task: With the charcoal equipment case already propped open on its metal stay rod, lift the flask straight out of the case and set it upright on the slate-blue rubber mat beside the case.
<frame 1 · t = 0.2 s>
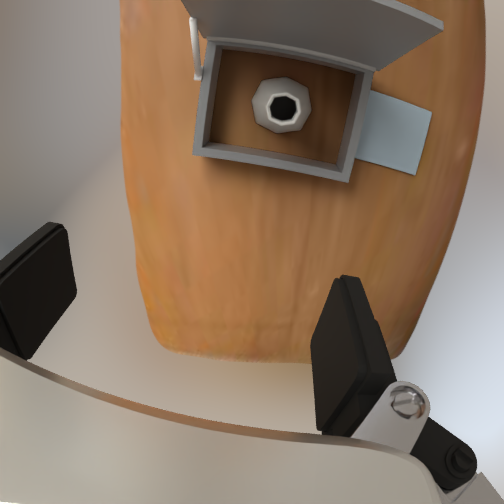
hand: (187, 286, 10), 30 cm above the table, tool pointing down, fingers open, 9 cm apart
lid and stay: (293, 45, 21), point 10 cm above the table
mat: (393, 133, 33), on the table
case: (281, 104, 33), on the table
flask: (281, 104, 33), resting in case
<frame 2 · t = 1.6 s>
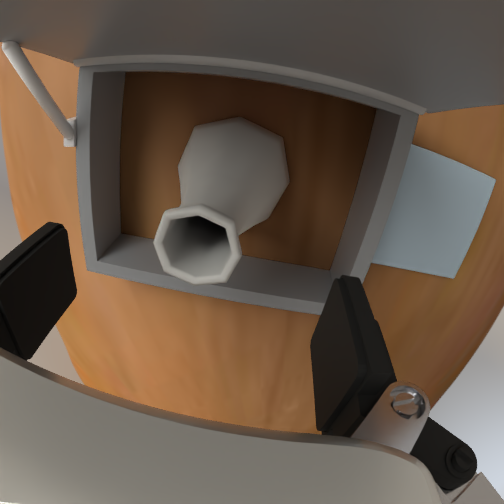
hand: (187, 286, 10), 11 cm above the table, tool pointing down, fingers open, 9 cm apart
lid and stay: (208, 67, 7), point 10 cm above the table
mat: (432, 216, 19), on the table
case: (233, 171, 19), on the table
flask: (233, 170, 19), resting in case
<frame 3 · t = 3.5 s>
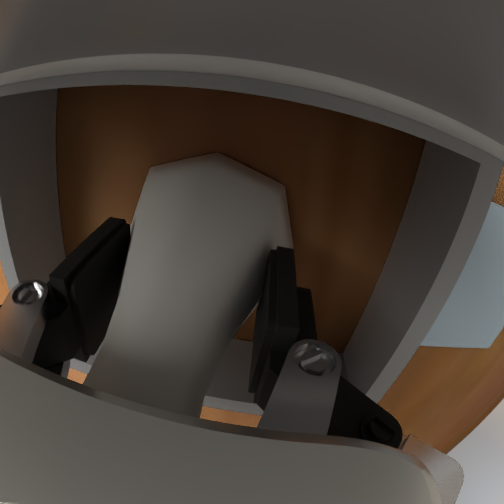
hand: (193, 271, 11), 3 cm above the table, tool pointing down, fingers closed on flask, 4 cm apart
mat: (478, 283, 13), on the table
case: (210, 233, 13), on the table
flask: (211, 231, 13), resting in case, touching gripper
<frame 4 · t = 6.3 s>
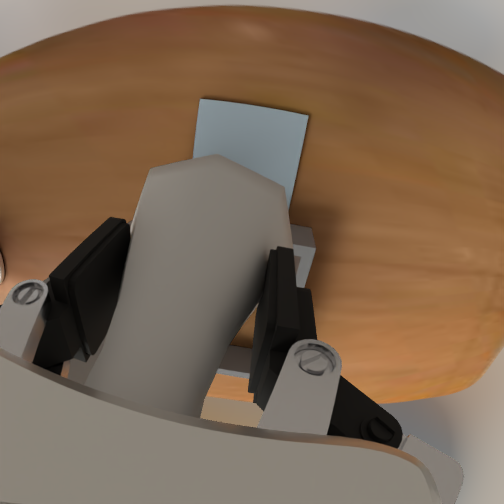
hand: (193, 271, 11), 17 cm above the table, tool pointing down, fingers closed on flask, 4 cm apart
lid and stay: (137, 352, 23), point 10 cm above the table
mat: (245, 156, 25), on the table
case: (225, 292, 33), on the table
flask: (211, 232, 13), point 14 cm above the table, touching gripper
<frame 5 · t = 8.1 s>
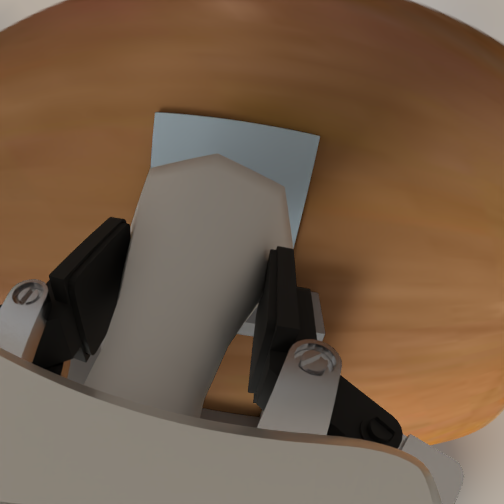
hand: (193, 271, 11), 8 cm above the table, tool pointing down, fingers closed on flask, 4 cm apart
lid and stay: (97, 448, 16), point 10 cm above the table
mat: (225, 196, 18), on the table
case: (206, 361, 25), on the table
flask: (211, 232, 13), point 5 cm above the table, touching gripper
when the fingers open (4 cm above the table, at t = 9.6 s): flask stays where it is, resting on mat.
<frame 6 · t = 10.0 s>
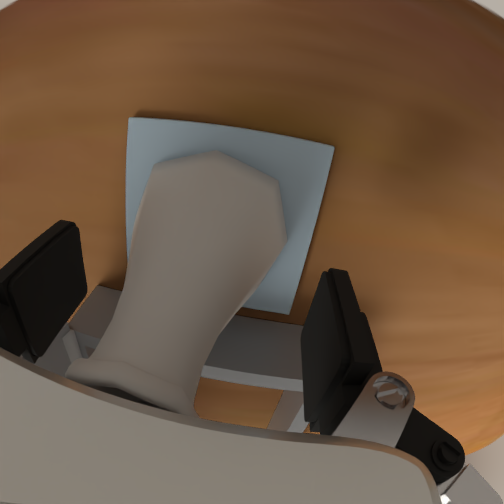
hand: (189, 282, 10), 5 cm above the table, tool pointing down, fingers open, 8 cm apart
lid and stay: (83, 489, 12), point 10 cm above the table
mat: (216, 220, 14), on the table
case: (199, 395, 22), on the table
flask: (210, 224, 14), resting on mat
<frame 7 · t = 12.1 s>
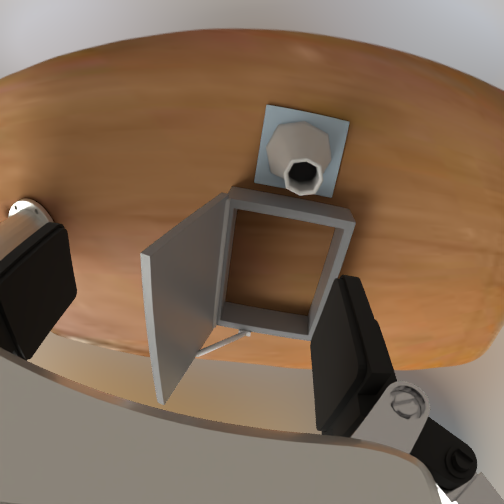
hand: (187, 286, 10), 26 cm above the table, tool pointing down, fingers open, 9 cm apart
lid and stay: (214, 306, 31), point 10 cm above the table
mat: (300, 151, 32), on the table
case: (277, 262, 39), on the table
flask: (298, 152, 32), resting on mat
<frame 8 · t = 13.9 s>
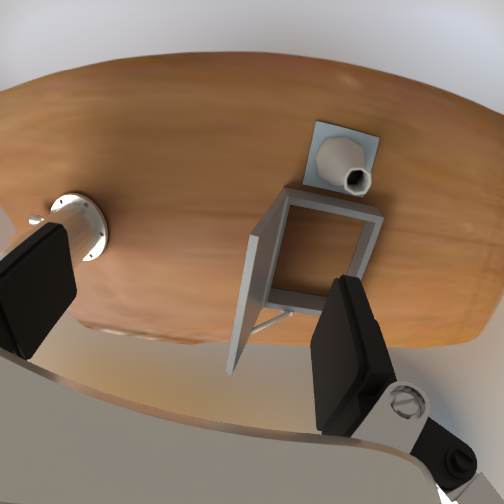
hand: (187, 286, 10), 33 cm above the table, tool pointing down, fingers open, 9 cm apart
lid and stay: (277, 285, 37), point 10 cm above the table
mat: (341, 159, 39), on the table
case: (316, 251, 46), on the table
flask: (339, 160, 39), resting on mat
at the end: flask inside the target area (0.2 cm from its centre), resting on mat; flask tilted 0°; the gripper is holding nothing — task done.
